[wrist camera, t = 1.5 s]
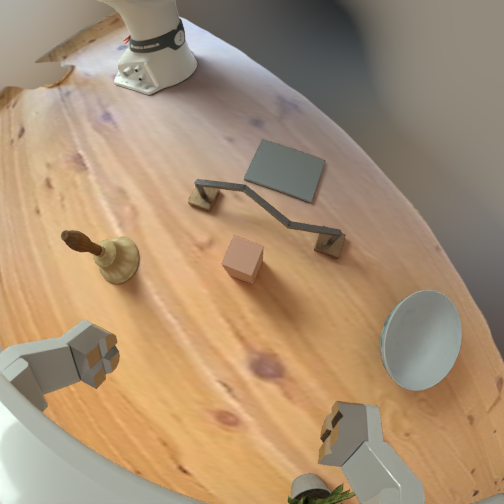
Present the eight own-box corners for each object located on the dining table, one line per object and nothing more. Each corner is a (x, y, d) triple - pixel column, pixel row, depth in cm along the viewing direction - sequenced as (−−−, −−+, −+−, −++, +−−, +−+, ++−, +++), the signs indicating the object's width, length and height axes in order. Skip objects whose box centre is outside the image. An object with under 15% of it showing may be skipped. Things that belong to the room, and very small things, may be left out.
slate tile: (244, 179, 47) (243, 178, 46) (262, 141, 48) (262, 139, 48) (310, 203, 45) (311, 201, 45) (324, 161, 47) (325, 160, 47)
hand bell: (147, 250, 44) (99, 218, 29) (124, 293, 43) (66, 278, 27) (114, 229, 45) (63, 193, 30) (92, 268, 44) (34, 246, 28)
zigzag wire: (189, 204, 46) (180, 189, 40) (199, 184, 47) (191, 167, 41) (336, 259, 43) (348, 250, 37) (343, 236, 44) (355, 225, 38)
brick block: (229, 275, 43) (221, 263, 34) (238, 251, 44) (233, 234, 35) (253, 284, 42) (251, 275, 34) (262, 260, 43) (263, 246, 34)
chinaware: (441, 301, 41) (467, 297, 33) (426, 383, 37) (450, 390, 30) (373, 287, 42) (394, 281, 34) (354, 378, 38) (372, 388, 31)
